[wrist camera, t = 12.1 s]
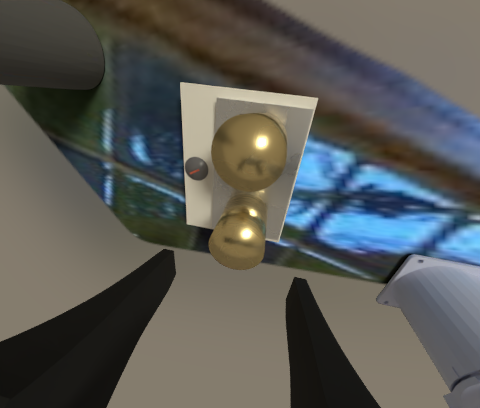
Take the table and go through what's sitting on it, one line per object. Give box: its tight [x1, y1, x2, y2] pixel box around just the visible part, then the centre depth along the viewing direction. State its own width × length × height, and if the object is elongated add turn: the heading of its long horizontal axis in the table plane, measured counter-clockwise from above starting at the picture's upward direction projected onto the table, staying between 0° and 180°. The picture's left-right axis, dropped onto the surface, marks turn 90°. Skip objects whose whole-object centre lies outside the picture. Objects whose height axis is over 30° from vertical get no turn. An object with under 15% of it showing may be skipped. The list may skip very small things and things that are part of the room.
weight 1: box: [211, 113, 287, 192], centre depth 12 cm, size 4×4×5 cm
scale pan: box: [212, 98, 314, 240], centre depth 16 cm, size 7×12×1 cm, turn 174°
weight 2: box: [209, 194, 267, 270], centre depth 15 cm, size 4×4×5 cm
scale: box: [180, 82, 318, 242], centre depth 17 cm, size 10×13×2 cm
